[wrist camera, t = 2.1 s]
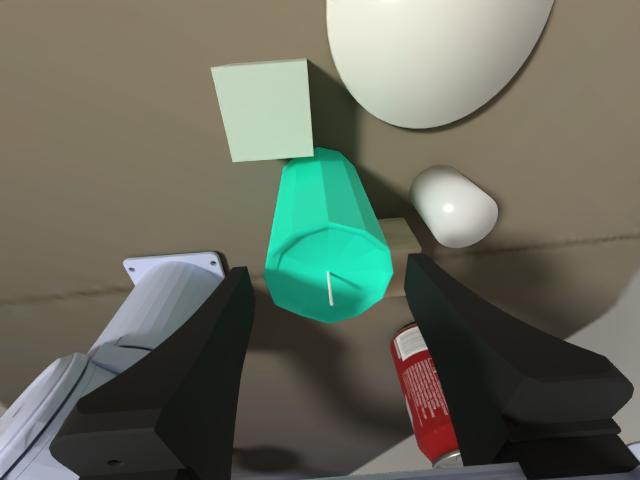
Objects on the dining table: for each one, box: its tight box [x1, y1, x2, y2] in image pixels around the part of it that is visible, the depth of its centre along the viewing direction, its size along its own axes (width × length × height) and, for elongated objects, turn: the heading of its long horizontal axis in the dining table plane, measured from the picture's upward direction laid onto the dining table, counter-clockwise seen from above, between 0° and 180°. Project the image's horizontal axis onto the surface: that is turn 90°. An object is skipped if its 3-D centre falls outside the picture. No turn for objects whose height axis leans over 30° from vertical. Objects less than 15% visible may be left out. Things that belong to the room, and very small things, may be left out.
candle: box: [264, 147, 393, 324], centre depth 17 cm, size 6×6×12 cm
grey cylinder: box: [410, 165, 498, 248], centre depth 20 cm, size 4×4×5 cm
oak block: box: [377, 217, 422, 297], centre depth 23 cm, size 4×4×4 cm
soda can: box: [390, 323, 464, 469], centre depth 27 cm, size 7×7×12 cm
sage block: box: [211, 58, 314, 162], centre depth 16 cm, size 4×4×4 cm
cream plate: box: [326, 0, 554, 128], centre depth 15 cm, size 12×12×1 cm
